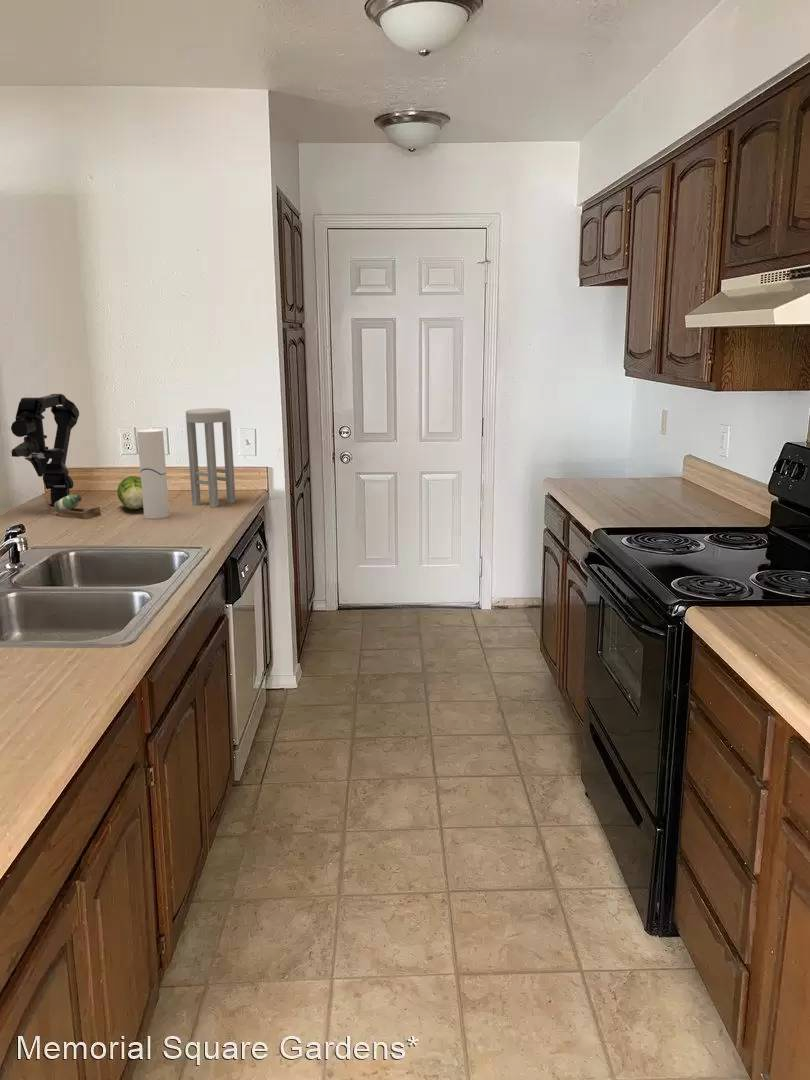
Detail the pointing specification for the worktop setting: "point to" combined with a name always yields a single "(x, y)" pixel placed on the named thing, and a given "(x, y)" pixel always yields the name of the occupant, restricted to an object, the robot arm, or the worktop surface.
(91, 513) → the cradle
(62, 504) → the bottle
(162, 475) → the container
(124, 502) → the lettuce
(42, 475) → the robot arm
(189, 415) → the stool
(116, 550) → the worktop surface
